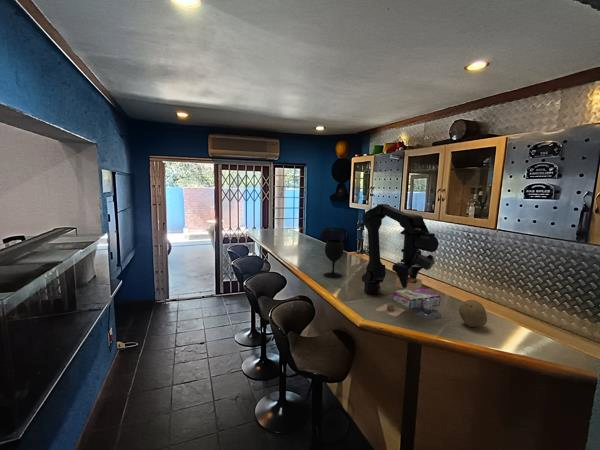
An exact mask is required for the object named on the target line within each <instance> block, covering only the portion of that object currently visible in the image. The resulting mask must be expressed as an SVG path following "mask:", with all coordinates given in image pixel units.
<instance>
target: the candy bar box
mask: <svg viewBox="0 0 600 450" xmlns="http://www.w3.org/2000/svg"><path fill="white" fill-rule="evenodd" d="M392 297H393V298H392V299H393V300H394V301H396V302H397V303H399V304H400V305H403V306H404V307H406V308H408V309H409V310H410V309H414V308H416V307H423V302H424V301H425V299H430V300H431V302H432V306H440V304H441V297H442V296H441V295H439V294H436V293H435V292H433V291H430V290H429V289H426V288H424V287H420V288H419V289H417V290H415V291H411V290H407V289H399V290H398V289H397V290H393V296H392Z"/></svg>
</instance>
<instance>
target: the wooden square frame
mask: <svg viewBox="0 0 600 450" xmlns="http://www.w3.org/2000/svg"><path fill="white" fill-rule="evenodd" d="M422 283H423V279H420V278H418V277H416V278H413V277H409V276H408V281H407V286H406V288H403V287H402V284H401V282H400V280H399V277H397V278H396V279H395V284H394V285H395V287H396V288H401V289H402V290H406V289H407V290H411V291H415V290H417V289H419V288H422Z"/></svg>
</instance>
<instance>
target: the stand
mask: <svg viewBox="0 0 600 450" xmlns="http://www.w3.org/2000/svg"><path fill="white" fill-rule="evenodd" d="M374 311H377V312H380V313H383V314H386V315H390V316H393V317H398V316H400V315H401V314H402V313H403V312H405V311H406V309H404V308H401V307H397V306H395V304H394V303H392V302H388V303H384V304H382V305H380V306H379V307H377V308H376V309H374Z"/></svg>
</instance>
